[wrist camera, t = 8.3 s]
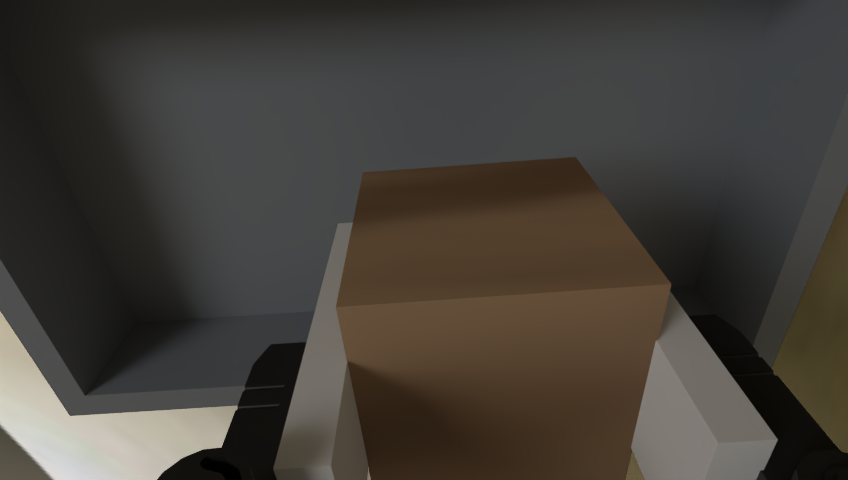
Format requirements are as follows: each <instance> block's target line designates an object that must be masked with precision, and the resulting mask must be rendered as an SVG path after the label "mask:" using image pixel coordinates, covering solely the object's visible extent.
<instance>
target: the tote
mask: <svg viewBox="0 0 848 480" xmlns="http://www.w3.org/2000/svg"><path fill="white" fill-rule="evenodd" d="M567 157H576V158H577V159H578V161H579V162H580V163H581V165H582V166H583V167H584V169H585V170H586V171H587V173H588V174H589V175H590V177H591V178H592V179H593V181H594V182H595V183H596V185H597V186H598V187H599V189H600V190H601V191H602V193H603V194H604V195H605V197H606V198H607V199H608V200H609V202H610V203H611V204H612V206H613V207H614V208H615V210H616V211H617V212H618V214H619V215H620V216H621V218H622V219H623V220H624V222H625V223H626V224H627V226H628V227H629V228H630V230H631V231H632V232H633V234H634V235H635V236H636V238H637V239H638V240H639V242H640V243H641V244H642V246H643V247H644V248H645V250H646V251H647V252H648V254H649V255H650V256H651V258H652V259H653V260H654V262H655V263H656V264H657V266H658V267H659V268H660V270H661V271H662V272H663V273H664V275H665V276H666V277H667V279H668V280H669V281H670V283H671V288H670V292H671V293H672V295H673V296H674V297H675V299H676V300H677V301H678V303H679V304H680V306H681V307H682V308H683V310H684V311H685V312H686V314H687V315H688V316H695V315H711V314H715V315H717V316H718V317H720V318H721V319H723V320H724V321H726V322H727V323H729V324H730V325H732V326H733V327H735V328H736V329H738V330H739V331H741V333H742V334H743V335H744V336H745V337H746V339H747V340H748V341H749V342H750V343H751V345H752V346H753V347H754V348H755V349H756V351H757V352H758V355H759V357H762V358H763V359H764V360H765V361H766V363H767V364H768V365H769V366H770V367H771V368H772V366H773V364H774V361H775V359H776V356H777V354H778V352H779V349H780V347H781V344H782V342H783V340H784V337H785V335H786V332H787V330H788V328H789V325H790V323H791V320H792V318H793V316H794V313H795V311H796V308H797V306H798V304H799V301H800V299H801V296H802V294H803V292H804V289H805V287H806V284H807V282H808V280H809V277H810V275H811V272H812V270H813V268H814V265H815V263H816V260H817V258H818V256H819V253H820V251H821V248H822V246H823V244H824V241H825V239H826V236H827V234H828V232H829V229H830V227H831V224H832V222H833V220H834V217H835V215H836V213H837V210H838V208H839V205H840V203H841V201H842V198H843V196H844V193H845V191H846V189H847V186H848V0H0V311H1V313H2V314H3V316H4V317H5V319H6V320H7V322H8V323H9V325H10V326H11V328H12V329H13V331H14V332H15V334H16V335H17V337H18V338H19V340H20V341H21V343H22V344H23V346H24V347H25V349H26V350H27V352H28V353H29V355H30V356H31V358H32V359H33V361H34V362H35V364H36V365H37V367H38V368H39V370H40V371H41V373H42V374H43V376H44V377H45V379H46V380H47V382H48V383H49V385H50V386H51V388H52V389H53V391H54V392H55V394H56V395H57V397H58V399H59V400H60V402H61V403H62V405H63V406H64V408H65V409H66V411H67V412H68V414H69V415H70V416H74V415H90V414H106V413H122V412H138V411H154V410H171V409H187V408H203V407H219V406H235V405H238V403H239V400H240V398H241V395H242V392H243V391H245V384H246V382H247V379H248V376H249V374H250V371H251V368H252V366H253V364H254V363H255V361H256V360H257V359H258V358H259V357H260V356H261V355H262V353H263V352H264V351H265V350H266V349H267V348H268V347H269V346H270V344H282V343H298V342H307V339H308V335H309V332H310V328H311V324H312V320H313V316H314V313H315V309H316V305H317V301H318V297H319V294H320V290H321V286H322V282H323V279H324V275H325V271H326V267H327V263H328V260H329V256H330V252H331V248H332V244H333V241H334V237H335V233H336V229H337V225H338V223H352V222H353V219H354V214H355V209H356V204H357V199H358V194H359V189H360V184H361V179H362V174H363V172H375V171H388V170H402V169H416V168H430V167H443V166H457V165H471V164H485V163H498V162H512V161H526V160H539V159H553V158H567Z"/></svg>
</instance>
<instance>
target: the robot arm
mask: <svg viewBox="0 0 848 480" xmlns="http://www.w3.org/2000/svg"><path fill="white" fill-rule="evenodd" d="M352 224H353V222H352V223H338V225H337V229H336V233H335V237H334V241H333V244H332V248H331V252H330V256H329V260H328V263H327V267H326V271H325V275H324V279H323V282H322V286H321V290H320V294H319V297H318V301H317V305H316V309H315V313H314V316H313V320H312V324H311V328H310V332H309V335H308V339H307V342H298V343H282V344H270V346H269V347H268V348H267V349H266V350H265V351H264V352H263V353H262V355H261V356H260V357H259V358H258V359H257V360H256V361H255V363H254V364H253V366H252V368H251V371H250V374H249V376H248V379H247V382H246V384H245V391H243V392H242V395H241V398H240V400H239V403H238V410H236V411H235V413H234V416H233V419H232V421H231V424H230V427H229V429H228V432H227V435H226V437H225V440H224V443H223V445H222V448H215V449H205V450H201V451H199V452H196V453H194V454H191V455H189V456H187V457H184V458H182V459H181V460H179V461H178V462H177V463H175V464H174V465H173V466H171V467H170V468H169V469H167V470H166V471H164V472H163V473H162V475H161V476H160V477H159V478H158V479H157V480H367V474H368V460H367V455H366V450H365V445H364V441H363V436H362V431H361V426H360V421H359V416H358V411H357V406H356V401H355V396H354V392H353V387H352V382H351V377H350V372H349V367H348V362H347V360H346V355H345V350H344V345H343V340H342V335H341V330H340V325H339V321H338V316H337V311H336V303H337V298H338V293H339V288H340V284H341V279H342V274H343V269H344V264H345V259H346V254H347V249H348V244H349V239H350V234H351V229H352ZM631 449H632V451H633V453H634V456H635V458H636V460H637V463H638V465H639V467H640V470H641V472H642V474H643V477H644V479H645V480H848V453H844V452H841V451H840V449H839V448H838V447H837V446H836V445H835V444H834V443H833V442H832V441H831V439H830V438H829V437H828V436H827V435H826V433H825V432H824V431H823V430H822V429H821V427H820V426H819V425H818V424H817V423H816V421H815V420H814V419H813V418H812V417H811V415H810V414H809V413H808V412H807V411H806V409H805V408H804V407H803V406H802V405H801V403H800V402H799V401H798V400H797V399H796V397H795V396H794V395H793V394H792V393H791V391H790V390H789V389H788V388H787V387H786V385H785V384H784V383H783V382H782V381H781V379H780V378H779V377H778V376H777V375H776V376H775V375H774V374H773V370H772V369H771V367H770V366H769V365H768V364H767V363H766V361H765V360H764V359H763V358H762V357H759V355H758V352H757V351H756V349H755V348H754V347H753V346H752V345H751V343H750V342H749V341H748V340H747V339H746V337H745V336H744V335H743V334H742V333H741V331H739V330H738V329H736V328H735V327H733V326H732V325H730V324H729V323H727V322H726V321H724V320H723V319H721V318H720V317H718V316H717V315H715V314H711V315H695V316H688V315H687V314H686V312H685V311H684V310H683V308H682V307H681V306H680V304H679V303H678V301H677V300H676V299H675V297H674V296H673V295H672V293H671V292H669V297H668V301H667V305H666V309H665V314H664V318H663V322H662V326H661V330H660V335H659V339H658V340H656V342H655V346H654V351H653V355H652V359H651V364H650V368H649V372H648V376H647V381H646V385H645V389H644V394H643V398H642V402H641V406H640V411H639V415H638V419H637V424H636V428H635V432H634V436H633V441H632V445H631Z"/></svg>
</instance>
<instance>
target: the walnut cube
mask: <svg viewBox="0 0 848 480" xmlns="http://www.w3.org/2000/svg"><path fill="white" fill-rule="evenodd" d="M670 288H671V283H670V281H669V280H668V279H667V277H666V276H665V275H664V273H663V272H662V271H661V270H660V268H659V267H658V266H657V264H656V263H655V262H654V260H653V259H652V258H651V256H650V255H649V254H648V252H647V251H646V250H645V248H644V247H643V246H642V244H641V243H640V242H639V240H638V239H637V238H636V236H635V235H634V234H633V232H632V231H631V230H630V228H629V227H628V226H627V224H626V223H625V222H624V220H623V219H622V218H621V216H620V215H619V214H618V212H617V211H616V210H615V208H614V207H613V206H612V204H611V203H610V202H609V200H608V199H607V198H606V197H605V195H604V194H603V193H602V191H601V190H600V189H599V187H598V186H597V185H596V183H595V182H594V181H593V179H592V178H591V177H590V175H589V174H588V173H587V171H586V170H585V169H584V167H583V166H582V165H581V163H580V162H579V161H578V159H577V158H576V157H567V158H553V159H539V160H526V161H512V162H498V163H485V164H471V165H457V166H443V167H430V168H416V169H402V170H388V171H375V172H363V174H362V179H361V184H360V189H359V194H358V199H357V204H356V209H355V214H354V219H353V224H352V229H351V234H350V239H349V244H348V249H347V254H346V259H345V264H344V269H343V274H342V279H341V284H340V288H339V293H338V298H337V303H336V311H337V316H338V321H339V325H340V330H341V335H342V340H343V345H344V350H345V355H346V360H347V362H348V367H349V372H350V377H351V382H352V387H353V392H354V396H355V401H356V406H357V411H358V416H359V421H360V426H361V431H362V436H363V441H364V445H365V450H366V455H367V460H368V467H369V472H370V477H371V480H625V478H626V474H627V470H628V466H629V462H630V457H631V453H632V449H631V445H632V441H633V436H634V432H635V428H636V424H637V419H638V415H639V411H640V406H641V402H642V398H643V394H644V389H645V385H646V381H647V376H648V372H649V368H650V364H651V359H652V355H653V351H654V346H655V342H656V340H658V339H659V335H660V330H661V326H662V322H663V318H664V314H665V309H666V305H667V301H668V297H669V292H670Z"/></svg>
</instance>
